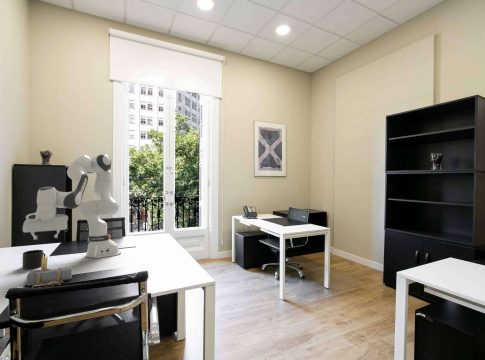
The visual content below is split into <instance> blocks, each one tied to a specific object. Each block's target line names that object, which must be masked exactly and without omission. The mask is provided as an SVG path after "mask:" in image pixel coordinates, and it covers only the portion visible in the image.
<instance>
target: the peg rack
mask: <svg viewBox="0 0 485 360" xmlns="http://www.w3.org/2000/svg"><path fill="white" fill-rule="evenodd" d="M58 269H62V267H59V268H58ZM39 270H40V271H39V272H41V271H42V270H41V269H39ZM59 282H63V283H64V281H63V280H60V271H58V272H57V281H52V282H45V283H40V274H37V282H36V284H35V285H32V287H33V286H40V285H50V284H52V283H59Z"/></svg>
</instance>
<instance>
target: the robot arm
mask: <svg viewBox="0 0 485 360" xmlns="http://www.w3.org/2000/svg"><path fill="white" fill-rule="evenodd" d="M111 168H112V159H111V157H110V156H109V155H107V154H103V153H102V154H98V155H94V156H92V157H90V156H88V155H85V154H82V155H78V156H77V157H76V158H75V159H74V160H73V161H72V163H71V164H70V165H69V166H68V168H67V171H66V174H67V177H68V178H69V179H71V181H73V182H76V183H75V186H74V188H73V190H72V191H68V192H67V191H66V192H65V191H61V190H60V191H59V190H58V189H56V188H55V187H54V186H43V187H40V188H39V189H38V191H37V195H36V205H37V207H36V211H35V212H32V213H29V214H27V215H26V216H25V221H24V222H23V225H22V232H23V233H30V235H31V236H32V237H33V240H34V241H35V240H38V235H35V233H36V232H37V233H38V232H39V233H40V232H51V231H53V232H54V231H56V234H54V237H53V238H54V239H58V236H59V234H60V232H61V231H63V230H64V231H65V230H67V229H68V221H69V216H68V215H67V214H66V213H61V214H59V213H58V214H57V208H60V209H61V208H63V209H71V210H72V209H78V210H77V211H78V213H79V214H80V215H82V216H83V217H84V218H85V220H86V221H87V224H88V236H87V244H88V245H87V251H86V254H85V257H87V258H93V259H102V258H107V257H113V256H119V255H121V254H122V249H120V248H119V246H118V244H117V242H115V241H114V240H112V239H111V238H112V236H111V234H108V223H107V222H106V220H103V219H101V218H100V217H99V216H113V215H116V214H117V213H118V212H119V210H120V209H119V208H120V205H119V203H118V202H117V201H116V200H115V199H114V198H113V196H112V184H113V172H112V171H111ZM94 173H95V176H96V177H95V181H94V186H93V194H95V196H97V197H99V198H100V199H86V200H83V195H84V192H85V191H86V187H87V184H88V182H89V176H88V175H87V174H94Z"/></svg>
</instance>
